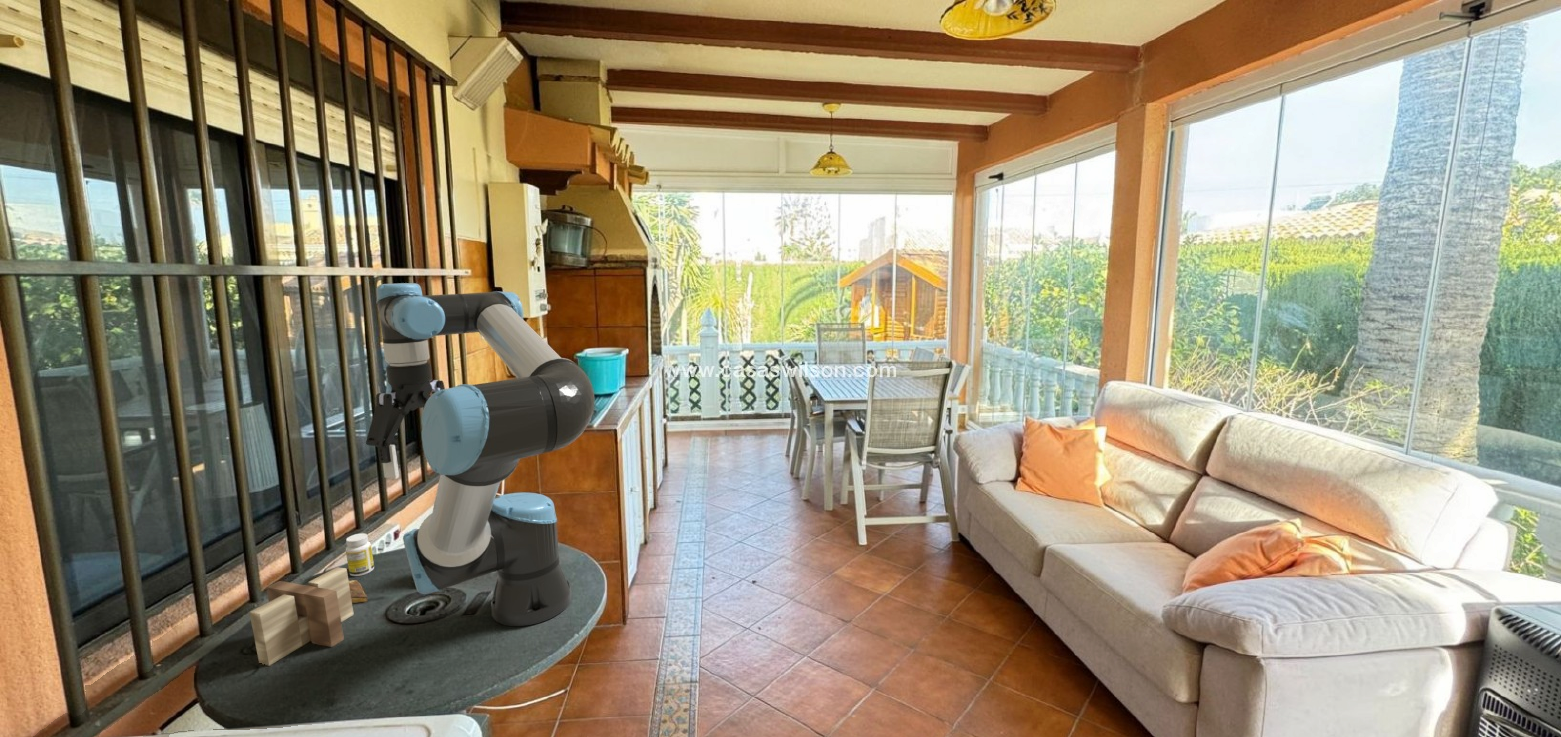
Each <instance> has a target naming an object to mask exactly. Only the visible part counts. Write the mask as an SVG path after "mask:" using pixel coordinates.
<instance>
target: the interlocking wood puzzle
mask: <svg viewBox="0 0 1561 737" xmlns="http://www.w3.org/2000/svg"><path fill="white" fill-rule="evenodd" d="M347 569H348V568H346V567H338V566H336V567H335V568H333V569H331V570H329V571H327V572H325V573H323V574H321V575H319V576H317V577H316V578H312V579H311V580H309V581H308V582H307V586H312V587H318V588H324V589H330V590H336V591H337V598H338V604H339V610H340V617H341V623H342V622H344V621H345V620H347V619H349V618H351V617H352V616H354V615H355V614H354V608H353V603H352V601H351V594H350V587H349V581H350V580H349V576H348V575H349V574H348V570H347ZM249 617H250V622H251V626H252V632H253V637H254V643H255V648H256V649H255V650H256V653H257V659H258V664H259V663H262V664H261V665H264V664H265V666H269V667H270V666H272V665H273V664H275V663H276V662H277V661H279V660H281V659H283V658H284V657H286V656H288V655H289V654H291V653H293V652H294V651H296V650H298V649H300V648H301V647H303V646H305V645H306V644H308V643H309V642H312V641H311V635H310V629H309V623H308V617H307V616H303V615H298V614H297V611H296V605H295V599H294V596H290V595H285V594H284V595H282V596H280V597H278V598H276V599H274V600H272V601H270V602H269V601H268V602H267V603H264V604H263V605H262V604H261V606H258V607H256V608H254V609H253V610H250V611H249Z"/></svg>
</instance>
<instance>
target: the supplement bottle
mask: <svg viewBox="0 0 1561 737" xmlns="http://www.w3.org/2000/svg"><path fill="white" fill-rule="evenodd" d="M368 536H369V535H368V534H367V533H355V534H352V535H350V536H348V537H346V540H345V542H346V547H345V554H346V560H347V569H348V572H349V575H350V576H352V577H359V576H360V577H361V576H363V575H364V576H365V575H368V574H369V573H371V572H372V571H373V570H374V569H375V562H374V557H373V555H374V554H373V549H372V544H371V542H370V541H369V538H368Z"/></svg>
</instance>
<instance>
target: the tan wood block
mask: <svg viewBox="0 0 1561 737" xmlns="http://www.w3.org/2000/svg"><path fill="white" fill-rule="evenodd" d="M265 589H266V593H267V598H268V602H270V601H272V600H274V599H276V598H278V597H280V596H282V595H284V594H285V595H290V596H294V599H295V605H296V611H297V614H298V615H303V616H307V617H308V623H309V629H310V635H311V641H310V642H311V644H313V645H314V644H315V645H319V646H324V647H328V648H333V647H335V646H336V645H338V644H339V643H341V642H342V641H344V640H345V636H344V630H343V624H342V622H341V617H340V610H339V604H338V598H337V591H336V590H330V589H324V588H318V587H312V586H309V585H308V584H307V585H305V584H300V583H293V582H288V581H284V580H282V581H281V580H279V581H277V582H274V583H273V584H270V585H268V586H267V587H266V588H265Z"/></svg>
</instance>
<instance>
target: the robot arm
mask: <svg viewBox="0 0 1561 737" xmlns="http://www.w3.org/2000/svg"><path fill="white" fill-rule="evenodd" d="M422 291H423V290H422V287H421V286H420V284H418V283H415V282H413V283H411V282H408V283H407V282H405V283H404V282H401V283H399V282H398V283H384V284H383V283H382V284H379V285H378V286H377V287H376V301H375V302H376V305H377V309H378V316H379V325H380V329H381V337H382V346H383V347H382V348H383V353H384V354H383V355H384V361H385V363H387V366H386V367H385V370H386V378H387V383H388V384H389V385H390V387H391V388H390V389H391V390H390V392H389V393H384V392H383V393H379V392H378V393H376V396H375V402H376V403H375V405H376V406H375V408H374V412H373V416H372V419H371V423H370V427H369V430H368V434H367V437H366V440H365V445H366V446H369V447H371V446H373V447H376V448H377V453H378V461H379V462H380V463H382V467H383V475H384V478H385V479H393V480H396V479H398V478H400V474H399V465H398V458H397V453H396V452H397V451H396V445H395V444H392V443H393V440H394V438H395V436H396V434H397V432H398V430H399V428H400V426H401V424H402V423H403V420H404V418H405V416H407V415H408V414H409V412H410V411H415V410H416V409H422V408H423V411H422V414H421V425H422V430H421V442H422V449H423V452H424V456H425V459H426V461H427V463H428V466H429V468H431V470H432V471H433V472H435V473H436V474H439V475H440V476H439V481H438V485H437V490H436V494H435V498H434V503H433V507H432V512H431V513H430V514H429V515H428V516H426V518H424V520H423V521H422V523H421V525H420V526H419V528H413V529H412V530H410V531H407V532H405V533H404V534H403V536H402V541H403V545H404V549H405V553H406V557H407V560H408V566H409V569H410V573H411V575H412V579H413V582H414V585H415V588H416V591H417V592H418V593H419V594H422V595H428V594H432V593H435V592H442V591H443V590H444V589H446V588H447V589H448V588H450V587H452V586H453V587H454V586H456V585H459V584H462V583H465V582H468V581H470V580H473V579H477V578H479V577H483V576H485V575H489V574H492V573H495V572H497V579H496V583H495V586H494V591H493V595H492V599H491V603H490V607H491V608H490V609H491V616H492V618H493V620H494V621H496V622H497V623H499V624H500V625H504V626H510V627H523V626H524V627H525V626H531V625H535V624H539V623H542V622H545V621H547V620H549V619H552V618H554V617H556V616H558V615H559V614H561V613H562V612H563V611H565V609H567V608H568V606H569V605H570V603H571V602H572V588H571V584H570V582H569V581H568V580H567V578H566V576H565V573H564V571H563V568H562V566H561V564H560V553H559V552H560V550H559V540H558V528H557V527H558V526H557V522H558V518H557V515H556V510H555V504H554V501H553V500H552V499H551V498H550V497H549V496H547V495H544V494H541V493H536V492H513V493H506V494H505V493H504V494H501V495H498V496H497V494H498V491H499V487H500V485H501V483H502V482H503V481H505V480H506V479H507V478H508V477H510V476H511V475H512V474H513V473H514V471H515V470H516V469H517V466H518V464H519V462H520V459H524V458H529V457H533V456H538V455H541V454H546V453H550V452H554V451H558V450H561V449H563V448H566V447H567V446H569V445H570V444H572V443H574V442H575V441H576V440H577V439H578V438H579V437H581V435H582V434H583V433H584V432H585V430H586V429H587V427H588V425H589V424H590V422H591V419H592V417H593V414H594V410H595V409H594V408H595V400H596V399H595V392H594V388H593V385H592V382H591V380H590V377H589V376H588V375H587V374H586V373H585V371H584V370H583V369H582V368H581V367H580V366H579V365H578V364H577V363H576V362H574V361H572V360H571V359H569V358H565V357H561V356H560V355H559V353H557V352H556V351H555V350H554V349H553V348H552V347H551V346H550V345H549V344H548V342H546V341H545V340H544V339H543V338H542V337H541V336H540V335H539V334H538V333H537V332H536V331H535V330H534V329H533V328H532V327H531V326H530V324H528V323H527V322H526V321H525V320H524V308H523V307H524V306H523V304H522V302H521V301H520V297H519V296H518V294H516V293H515V292H512V291H497V290H495V291H488V292H486V291H485V292H472V293H470V292H469V293H449V294H448V293H447V294H429V295H427V294H426V295H423V292H422ZM473 333H474V334H475V333H479V334H480V336H482V338H483V339H484V340H485V341H486V342H487V343H488V345H489V346H490V347H491V349H492V350H493V351H494V352H495V353H496V354H497V356H498V357H499V358H500V359H501V361H502V362H503V363H504V364H505V366H507V367H508V369H509V370H510V371H511V373H513V375H514V376H515V378H511V379H503V380H496V381H489V382H484V383H483V382H482V383H477V384H468V383H466V384H465V383H464V384H459V385H456V386H453V387H448V388H445V384H444V381H443V380H441V379H439V380H438V379H433V374H432V366H431V363H430V362H429V360H430V357H431V356H430V350H429V349H430V348H429V341H428V339H431V338H433V337H437V336H449V335H458V334H459V335H460V334H462V335H463V334H473ZM496 496H497V497H496Z"/></svg>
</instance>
